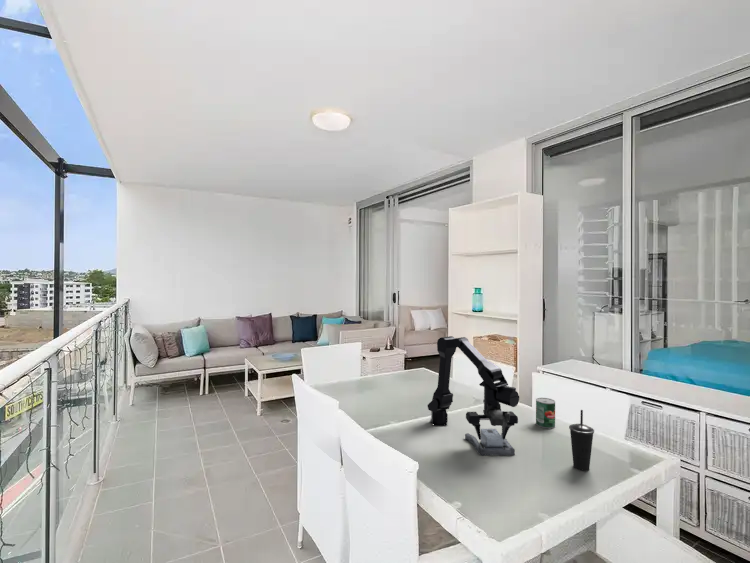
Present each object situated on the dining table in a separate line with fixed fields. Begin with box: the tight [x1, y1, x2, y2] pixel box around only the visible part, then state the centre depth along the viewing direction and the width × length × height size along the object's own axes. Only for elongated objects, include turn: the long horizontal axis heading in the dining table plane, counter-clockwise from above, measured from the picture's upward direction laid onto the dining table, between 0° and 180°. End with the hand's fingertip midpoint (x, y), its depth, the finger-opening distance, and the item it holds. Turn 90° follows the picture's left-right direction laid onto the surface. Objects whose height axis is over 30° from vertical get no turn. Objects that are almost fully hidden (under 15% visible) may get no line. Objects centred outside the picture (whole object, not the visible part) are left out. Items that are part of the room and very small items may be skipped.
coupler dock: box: [464, 432, 516, 456], centre depth 148 cm, size 17×15×2 cm
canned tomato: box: [535, 397, 556, 429], centre depth 168 cm, size 8×8×11 cm
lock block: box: [480, 428, 504, 448], centre depth 147 cm, size 6×9×6 cm, turn 179°
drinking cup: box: [568, 409, 595, 472], centre depth 131 cm, size 8×8×20 cm
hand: (491, 439), depth 147 cm, fingers open, 9 cm apart
